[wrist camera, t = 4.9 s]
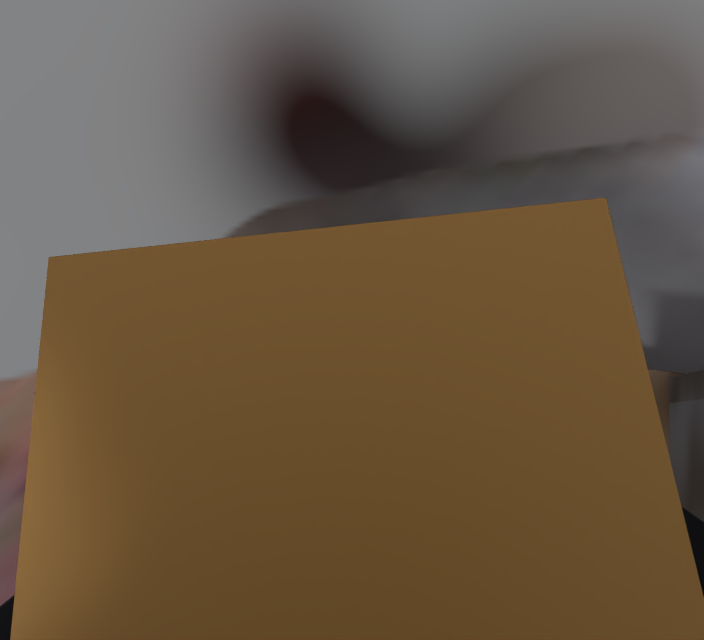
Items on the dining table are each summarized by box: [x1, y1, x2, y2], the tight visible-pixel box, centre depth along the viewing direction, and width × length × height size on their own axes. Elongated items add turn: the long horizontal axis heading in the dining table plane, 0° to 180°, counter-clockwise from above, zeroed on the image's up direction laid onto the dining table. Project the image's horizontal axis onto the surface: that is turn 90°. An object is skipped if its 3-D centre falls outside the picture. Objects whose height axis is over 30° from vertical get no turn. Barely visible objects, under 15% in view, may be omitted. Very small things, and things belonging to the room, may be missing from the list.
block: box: [10, 198, 704, 640], centre depth 9 cm, size 4×4×13 cm
